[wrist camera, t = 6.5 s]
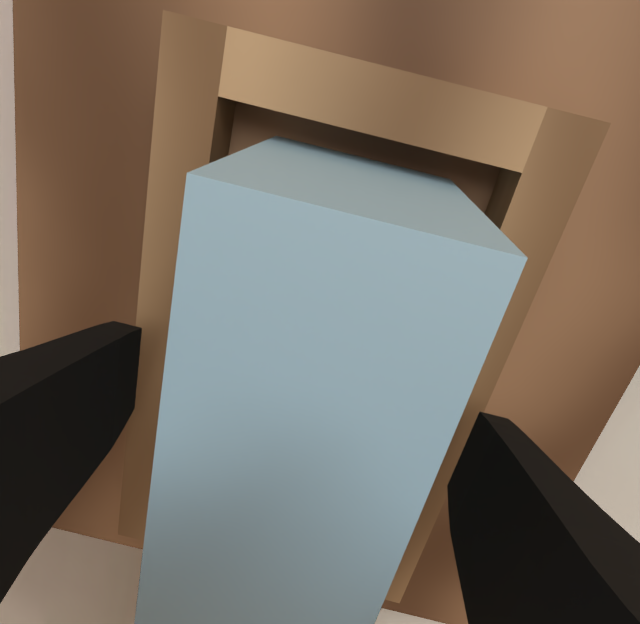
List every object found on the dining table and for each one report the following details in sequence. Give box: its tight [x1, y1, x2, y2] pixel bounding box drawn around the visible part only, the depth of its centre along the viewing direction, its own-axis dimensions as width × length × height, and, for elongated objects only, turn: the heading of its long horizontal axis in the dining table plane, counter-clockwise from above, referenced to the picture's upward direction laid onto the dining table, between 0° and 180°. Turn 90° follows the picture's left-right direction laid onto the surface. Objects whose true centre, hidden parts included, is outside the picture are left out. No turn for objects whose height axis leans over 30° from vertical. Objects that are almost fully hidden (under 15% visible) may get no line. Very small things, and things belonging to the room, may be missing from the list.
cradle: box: [13, 0, 640, 624], centre depth 13 cm, size 16×18×2 cm
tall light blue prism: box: [134, 136, 528, 624], centre depth 10 cm, size 4×9×6 cm, turn 167°
